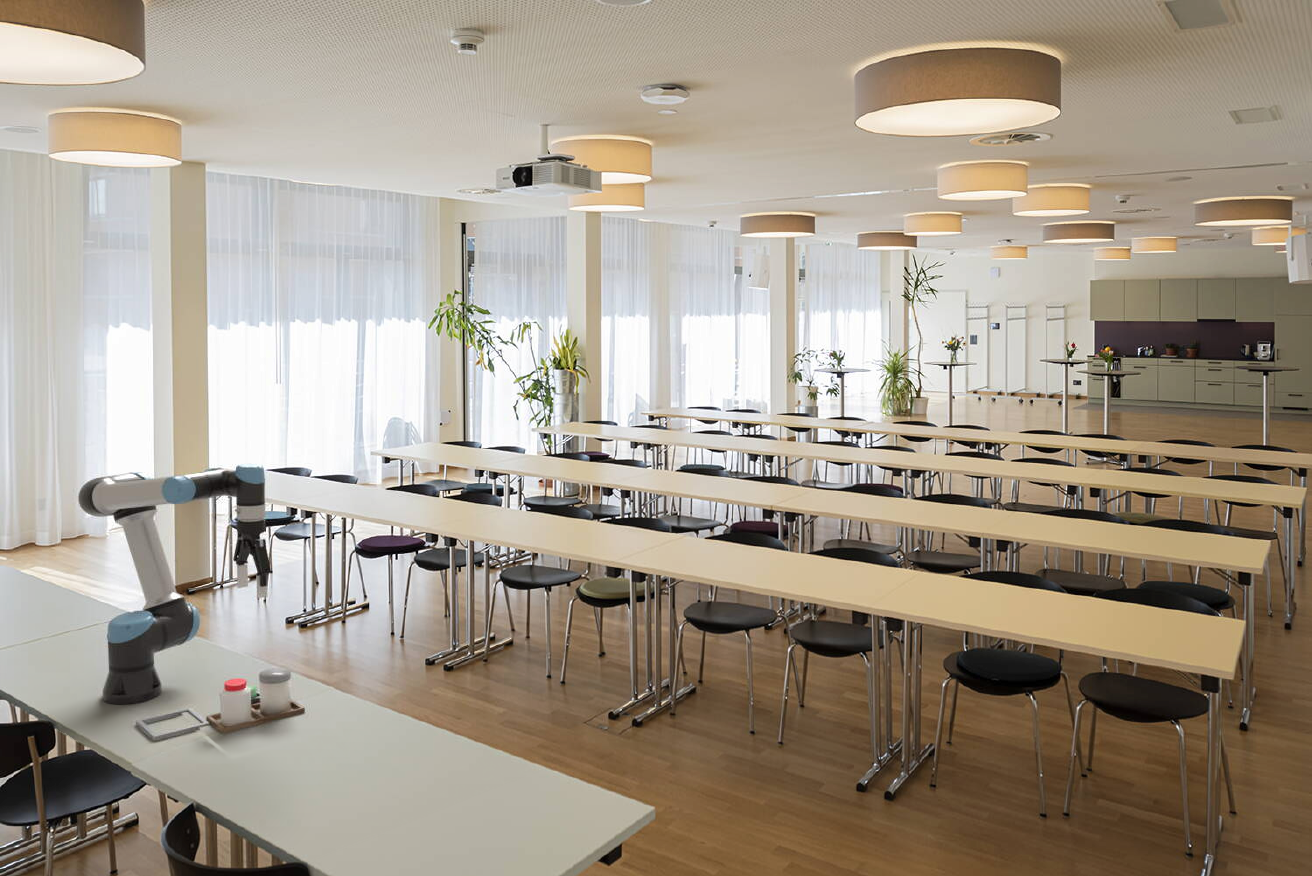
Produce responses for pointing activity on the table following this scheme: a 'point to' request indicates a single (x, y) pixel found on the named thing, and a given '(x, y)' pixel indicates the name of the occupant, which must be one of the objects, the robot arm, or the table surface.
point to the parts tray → (154, 736)
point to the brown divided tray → (254, 717)
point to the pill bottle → (235, 702)
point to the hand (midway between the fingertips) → (252, 592)
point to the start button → (253, 691)
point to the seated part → (275, 691)
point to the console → (256, 698)
